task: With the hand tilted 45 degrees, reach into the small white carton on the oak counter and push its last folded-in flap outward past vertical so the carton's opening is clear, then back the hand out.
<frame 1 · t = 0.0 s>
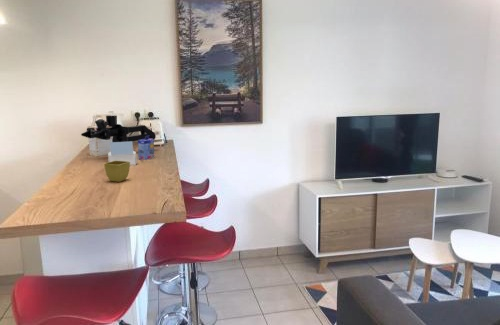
hand: (86, 135, 240), 17 cm above the breakfast bar, tool horizontal, fingers open, 9 cm apart
coffeecake box: (102, 154, 272), on the breakfast bar
ink cartridge box: (146, 159, 256), on the breakfast bar
flower pot: (118, 181, 198), on the breakfast bar
flap: (121, 148, 232), point 10 cm above the breakfast bar, hinge at -15.0°
carton: (122, 164, 239), on the breakfast bar
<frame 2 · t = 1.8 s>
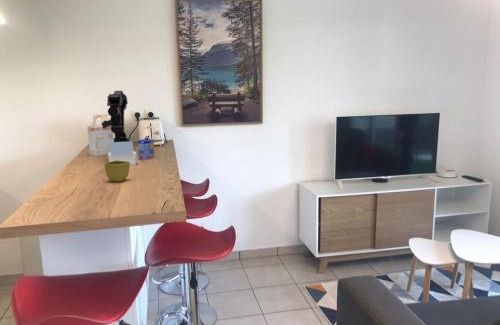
hand: (117, 141, 247), 12 cm above the breakfast bar, tool pointing down, fingers open, 5 cm apart
nothing on the breakfast bar moved.
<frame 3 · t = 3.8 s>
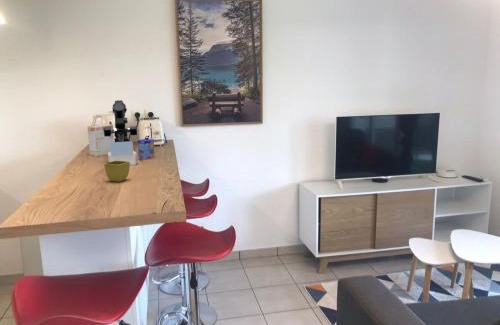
hand: (121, 142, 238), 12 cm above the breakfast bar, tool tilted 45°, fingers closed
nothing on the breakfast bar moved.
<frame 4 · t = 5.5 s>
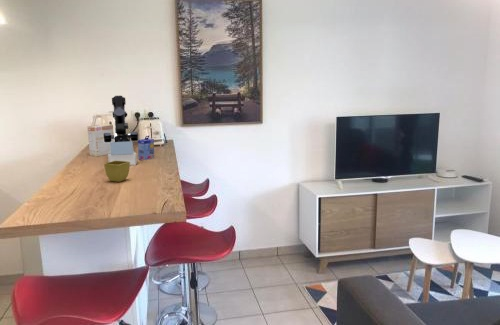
hand: (121, 148, 232), 10 cm above the breakfast bar, tool tilted 45°, fingers closed, pressing on flap
flap: (121, 148, 232), point 10 cm above the breakfast bar, hinge at -9.6°, touching gripper
everything else where it was.
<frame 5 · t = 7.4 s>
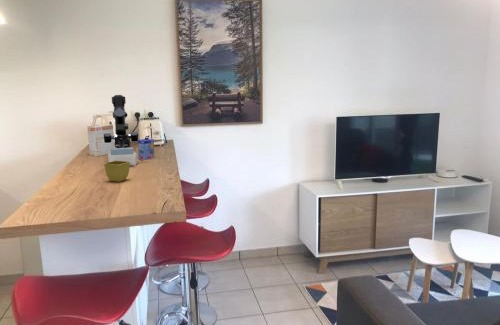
hand: (121, 149, 231), 10 cm above the breakfast bar, tool tilted 45°, fingers closed
flap: (122, 151, 229), point 9 cm above the breakfast bar, hinge at 54.2°
everything else where it was.
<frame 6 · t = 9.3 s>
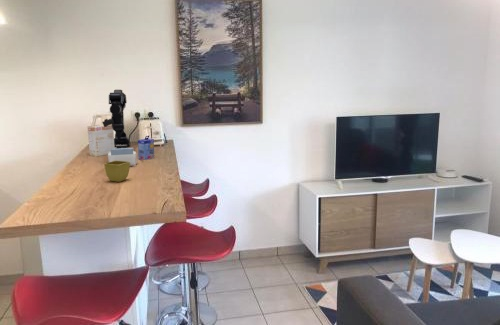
hand: (118, 140, 244), 13 cm above the breakfast bar, tool pointing down, fingers closed
flap: (122, 151, 229), point 9 cm above the breakfast bar, hinge at 54.5°
everything else where it was.
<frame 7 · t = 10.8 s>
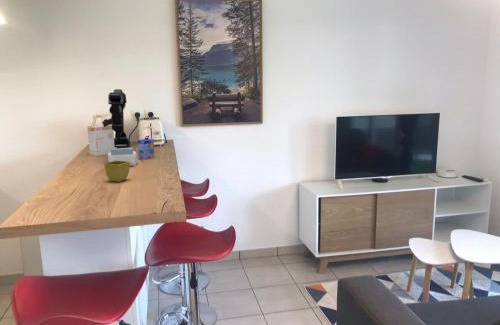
hand: (118, 140, 245), 13 cm above the breakfast bar, tool pointing down, fingers closed
nothing on the breakfast bar moved.
at the end: flap at +54° (first picture: -15°) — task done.
